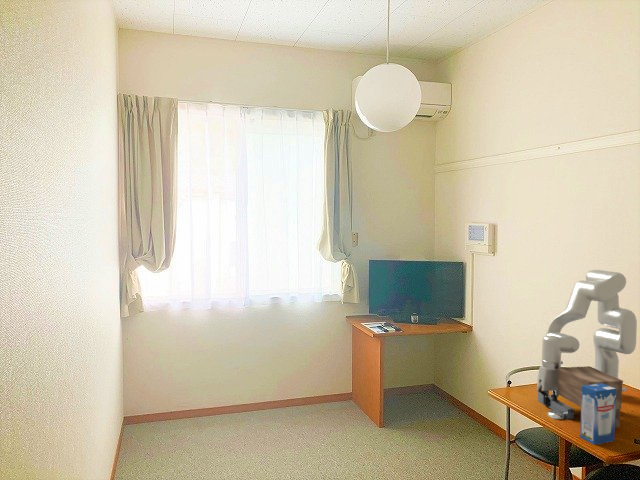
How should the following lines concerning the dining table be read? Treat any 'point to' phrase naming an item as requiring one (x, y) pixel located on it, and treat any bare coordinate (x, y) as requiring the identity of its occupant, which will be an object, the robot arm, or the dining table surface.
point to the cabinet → (580, 376)
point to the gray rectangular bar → (558, 406)
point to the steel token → (555, 414)
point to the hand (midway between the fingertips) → (550, 404)
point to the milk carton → (598, 413)
